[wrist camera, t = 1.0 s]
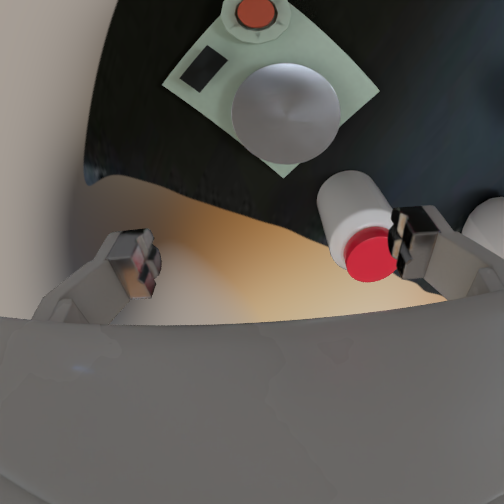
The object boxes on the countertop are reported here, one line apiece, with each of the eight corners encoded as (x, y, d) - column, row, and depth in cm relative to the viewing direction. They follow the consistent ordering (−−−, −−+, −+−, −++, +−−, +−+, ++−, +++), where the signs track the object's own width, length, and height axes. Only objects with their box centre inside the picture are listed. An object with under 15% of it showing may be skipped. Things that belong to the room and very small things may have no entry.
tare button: (231, 15, 19) (229, 13, 18) (254, -7, 18) (254, -10, 17) (257, 34, 20) (257, 33, 19) (281, 12, 19) (282, 10, 18)
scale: (162, 80, 25) (152, 85, 23) (254, -20, 19) (253, -28, 16) (282, 173, 32) (284, 185, 30) (375, 88, 25) (386, 93, 23)
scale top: (170, 90, 24) (168, 91, 23) (241, 9, 19) (241, 8, 18) (288, 182, 29) (288, 183, 29) (360, 116, 25) (362, 117, 24)
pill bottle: (309, 221, 36) (323, 286, 27) (326, 163, 31) (351, 218, 23) (365, 230, 36) (392, 293, 28) (387, 178, 32) (426, 233, 23)
